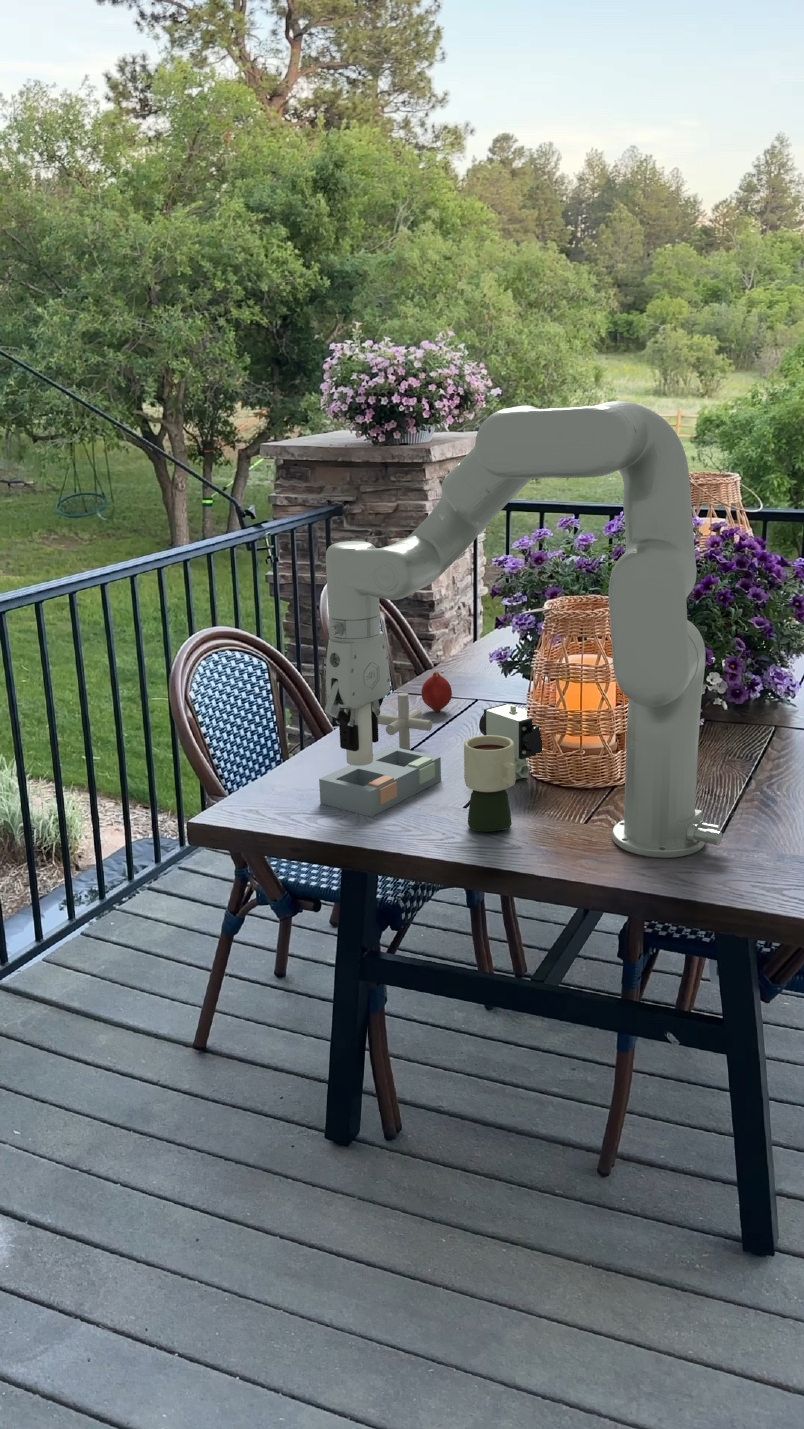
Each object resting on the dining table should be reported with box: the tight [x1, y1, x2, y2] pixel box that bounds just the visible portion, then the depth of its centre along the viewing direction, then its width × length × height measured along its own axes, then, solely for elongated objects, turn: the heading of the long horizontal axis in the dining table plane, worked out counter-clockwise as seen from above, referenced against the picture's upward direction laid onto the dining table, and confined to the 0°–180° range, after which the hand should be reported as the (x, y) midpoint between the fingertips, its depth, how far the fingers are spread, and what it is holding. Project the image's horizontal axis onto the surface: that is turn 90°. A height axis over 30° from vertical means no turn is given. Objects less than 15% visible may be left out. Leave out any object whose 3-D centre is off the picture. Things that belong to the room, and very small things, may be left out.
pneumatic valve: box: [478, 703, 542, 782], centre depth 186 cm, size 6×12×12 cm, turn 37°
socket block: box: [318, 745, 442, 818], centre depth 182 cm, size 10×18×4 cm, turn 143°
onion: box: [421, 671, 453, 713], centre depth 221 cm, size 6×6×8 cm
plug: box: [344, 703, 374, 766], centre depth 176 cm, size 4×4×11 cm
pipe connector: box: [376, 692, 433, 751], centre depth 200 cm, size 10×10×10 cm
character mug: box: [463, 735, 516, 833], centre depth 166 cm, size 11×7×13 cm, turn 35°
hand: (359, 743), depth 176 cm, fingers closed on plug, 4 cm apart
